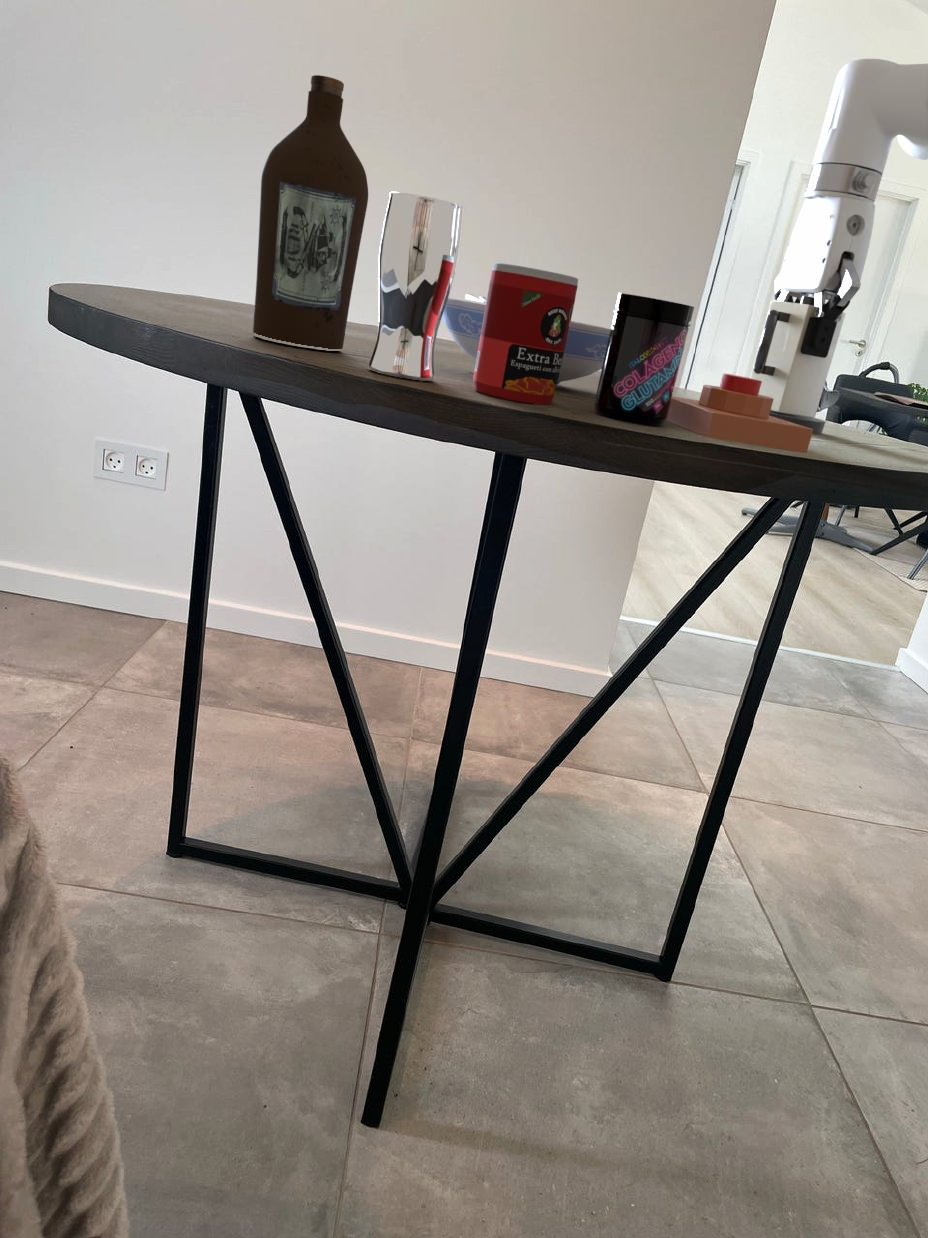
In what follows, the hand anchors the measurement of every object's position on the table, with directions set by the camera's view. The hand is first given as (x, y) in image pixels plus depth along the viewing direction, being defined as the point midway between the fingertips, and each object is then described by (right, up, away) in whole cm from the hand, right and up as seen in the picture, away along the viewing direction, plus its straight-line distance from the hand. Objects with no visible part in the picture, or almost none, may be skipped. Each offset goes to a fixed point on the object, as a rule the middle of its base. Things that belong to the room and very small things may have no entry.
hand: (795, 351), depth 109 cm
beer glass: (-45, -9, -23) cm, 51 cm away
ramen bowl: (-32, -4, -2) cm, 32 cm away
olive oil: (-57, -3, -11) cm, 58 cm away
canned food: (-35, -11, -24) cm, 43 cm away
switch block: (-14, -14, -21) cm, 28 cm away
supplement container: (-24, -14, -25) cm, 37 cm away
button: (-13, -10, -22) cm, 28 cm away
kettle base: (-2, -8, +3) cm, 9 cm away
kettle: (-1, -6, +2) cm, 7 cm away
